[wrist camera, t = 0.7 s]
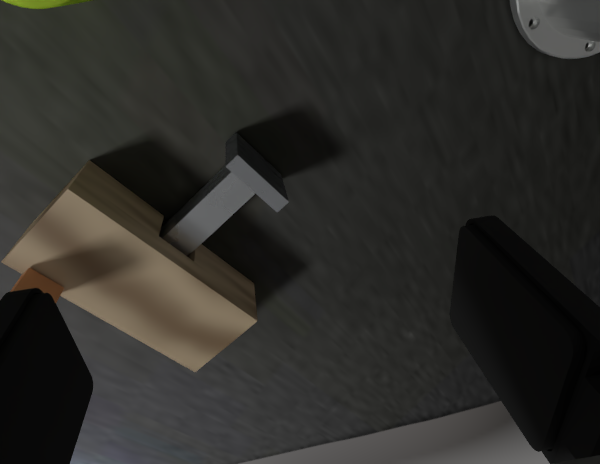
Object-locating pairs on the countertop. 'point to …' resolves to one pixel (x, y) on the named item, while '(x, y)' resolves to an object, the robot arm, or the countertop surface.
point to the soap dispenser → (42, 3)
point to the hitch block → (135, 271)
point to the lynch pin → (225, 196)
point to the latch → (38, 284)
